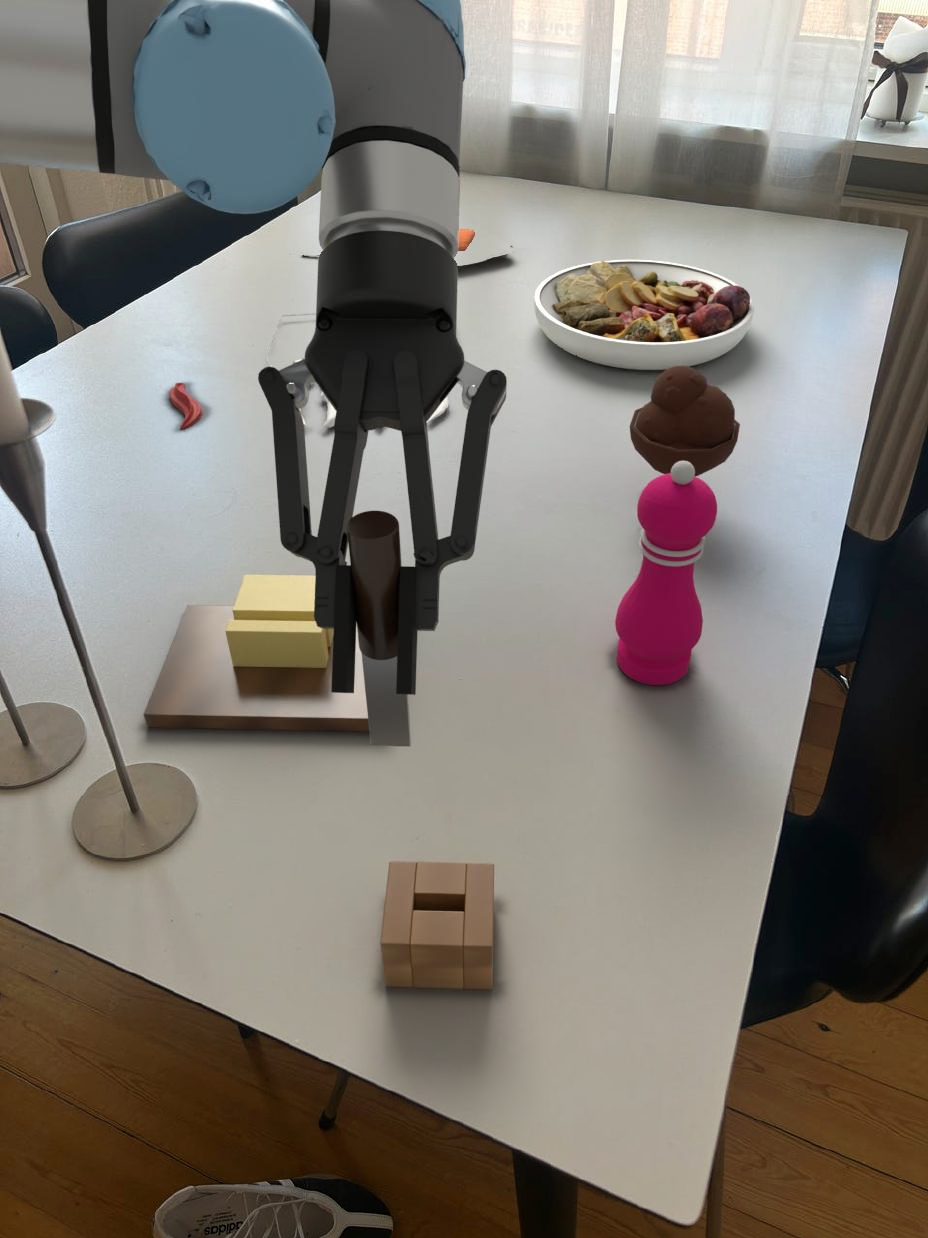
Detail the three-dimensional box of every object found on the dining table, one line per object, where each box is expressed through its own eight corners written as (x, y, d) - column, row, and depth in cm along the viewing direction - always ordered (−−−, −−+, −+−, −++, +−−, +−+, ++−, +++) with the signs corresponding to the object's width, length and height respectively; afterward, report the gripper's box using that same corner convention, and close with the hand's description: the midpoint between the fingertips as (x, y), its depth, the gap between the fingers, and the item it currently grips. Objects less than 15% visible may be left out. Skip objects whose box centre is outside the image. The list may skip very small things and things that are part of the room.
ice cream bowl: (614, 524, 100) (629, 392, 91) (631, 470, 108) (646, 343, 99) (718, 541, 98) (744, 406, 88) (727, 484, 106) (752, 355, 96)
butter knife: (366, 759, 57) (343, 539, 47) (371, 727, 59) (350, 509, 49) (410, 760, 57) (396, 540, 47) (414, 728, 59) (401, 510, 49)
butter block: (239, 645, 84) (232, 610, 81) (251, 609, 88) (244, 574, 85) (330, 647, 84) (326, 611, 81) (338, 610, 88) (334, 575, 85)
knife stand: (384, 987, 61) (379, 944, 58) (393, 905, 66) (389, 860, 63) (492, 990, 61) (493, 947, 58) (493, 907, 66) (494, 863, 62)
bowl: (514, 368, 128) (516, 310, 123) (552, 284, 151) (554, 233, 146) (745, 391, 123) (757, 332, 118) (749, 300, 145) (759, 247, 140)
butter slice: (232, 666, 82) (224, 631, 79) (236, 654, 83) (228, 619, 80) (326, 668, 82) (321, 632, 79) (328, 656, 83) (324, 620, 80)
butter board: (147, 727, 79) (143, 714, 78) (190, 617, 89) (187, 604, 88) (391, 732, 78) (390, 719, 77) (405, 620, 89) (404, 608, 88)
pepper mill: (593, 656, 85) (614, 458, 72) (651, 623, 88) (681, 428, 75) (653, 702, 80) (687, 500, 67) (712, 666, 84) (755, 466, 71)
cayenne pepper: (199, 428, 117) (196, 414, 115) (160, 430, 116) (157, 416, 115) (209, 383, 126) (206, 369, 125) (173, 385, 125) (170, 371, 124)
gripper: (531, 287, 56) (523, 697, 54) (261, 285, 56) (244, 690, 54) (536, 223, 48) (527, 697, 46) (225, 221, 49) (203, 689, 47)
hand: (374, 692), depth 50 cm, fingers closed on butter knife, 3 cm apart
